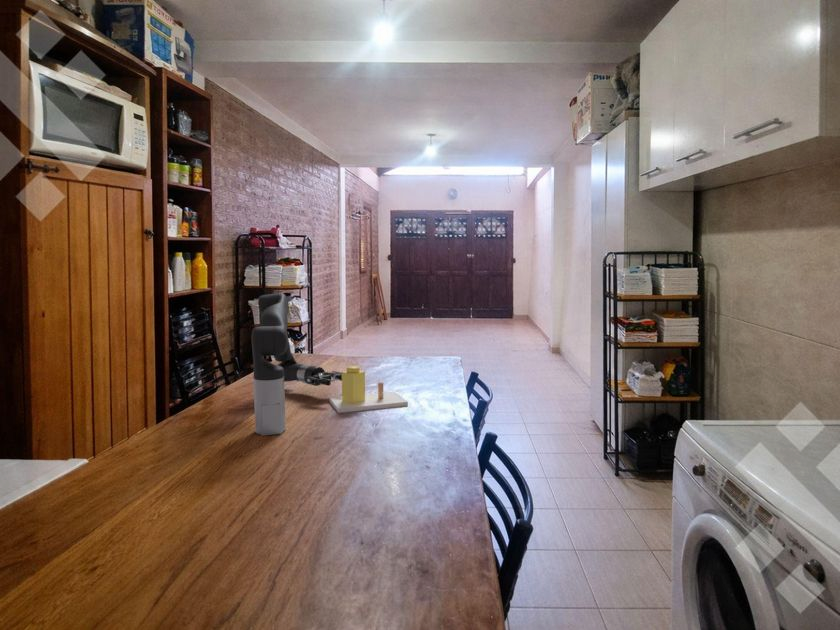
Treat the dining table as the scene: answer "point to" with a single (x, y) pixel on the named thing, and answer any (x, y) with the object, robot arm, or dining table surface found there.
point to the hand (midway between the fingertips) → (338, 380)
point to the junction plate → (370, 401)
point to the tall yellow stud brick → (353, 385)
